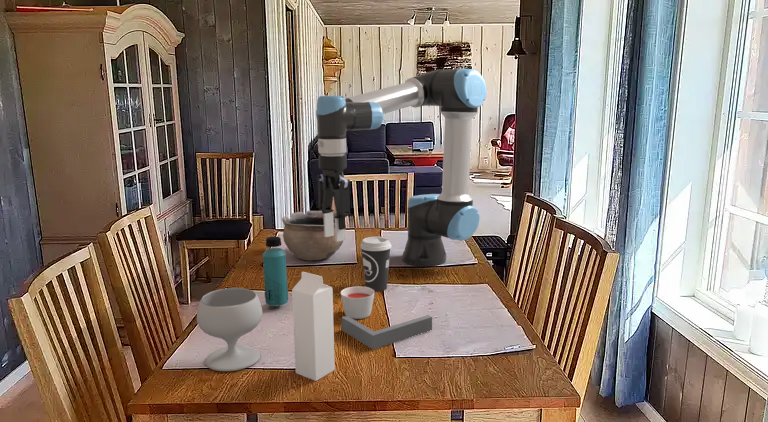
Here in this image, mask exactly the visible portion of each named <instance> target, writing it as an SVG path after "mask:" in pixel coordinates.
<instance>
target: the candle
mask: <svg viewBox="0 0 768 422" xmlns="http://www.w3.org/2000/svg"><path fill="white" fill-rule="evenodd" d="M375 292H376V291H374V290H373V289H371V288H368V287H365V286H363V285H362V286H360V285H358V286H351V287H350V286H349V287H346V288H344V289H342V290H341V291H340V297H341V302H342V306H343V310H344V315H345V316H348V317H350V318H352V319H354V320H361V319H366V318H368V317H370V315H371V313H372V310H373V305H374V298H375Z"/></svg>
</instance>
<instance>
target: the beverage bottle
mask: <svg viewBox="0 0 768 422" xmlns="http://www.w3.org/2000/svg"><path fill="white" fill-rule="evenodd" d="M265 246H266V247H267V249H266V250H265V251H264V252H263V253H262V260H263V278H264V279H263V281H264V291H263V292H264V298H265V304H266V305H267V306H270V307H271V306H272V307H273V306H274V307H278V306H279V307H280V306H283V305H286V304H287V303H288V302H289V291H288V290H289V286H288V284H289V283H288V274H287V259H286V258H287V257H286V256H287V253H286V251H285V250H283V248H280V247H281V246H282V239H281V237H280V236H268V237H266V239H265Z"/></svg>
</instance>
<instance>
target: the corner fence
mask: <svg viewBox="0 0 768 422" xmlns="http://www.w3.org/2000/svg"><path fill="white" fill-rule="evenodd" d="M430 330H431V331H432V330H433V317H432V316H430V315H429V314H426V315H423V316H420V317H417V318H415V319H411V320H407V321H405V322H404V321H403V322H401V323H399V324H395V325H391V326H387V327H385V328H382V329H378V330H373V329H371V328H370V327H367V326H366V325H364V324H362V323H361V322H359V321H357V320H356V319H352V318H350V317H348V316H346V315H345V316H342V317H341V331H342V332H344V333H345V334H347V335H349V336H350V337H352V338H354V339H355V340H357V341H358V342H360V343H362V345H364V346H366V347H368V348H370V349H371V350H376V349H379V348H381V347H385V346H389V345H391V344H395V343H397V341H398V342H400V341H399V340H401V341H403V340H402V339H404V340H406V339H405V338H407V339H409V337H410V338H412V336H413V337H416V336H418V334H419V335H421V333H422V334H425V333H427V331H428V332H431V331H430ZM424 332H425V333H424ZM415 335H416V336H415ZM394 342H395V343H394Z"/></svg>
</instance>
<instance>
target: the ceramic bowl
mask: <svg viewBox="0 0 768 422" xmlns="http://www.w3.org/2000/svg"><path fill="white" fill-rule="evenodd" d="M330 213H333V221H334V236H329V237H324V217H323V213H322V210H307V211H306V212H305V213H304V212H302V211H297V212H292V213H291V214H290V218H289V217H287V216H286V215H285V216H283V217H282V218H281V220H282V223H283V225H284V226H283V232H282V238H283V242H284V244H285V245H286V247H287V249H288V251H290V252H291V254H293V255H294V256H295V257H296V258H299V259H301V260H304V261H318V260H319V261H321V260H324V259H328V258H330V257H331V256H333V255H334V254H335V253H336V252H337V251H338V250H340V248H341V246H342V245H343V243H344V240H343V241H338V242H337V241H335V216H337V215H336V211H335V212H334V211H333V212H330Z"/></svg>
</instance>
